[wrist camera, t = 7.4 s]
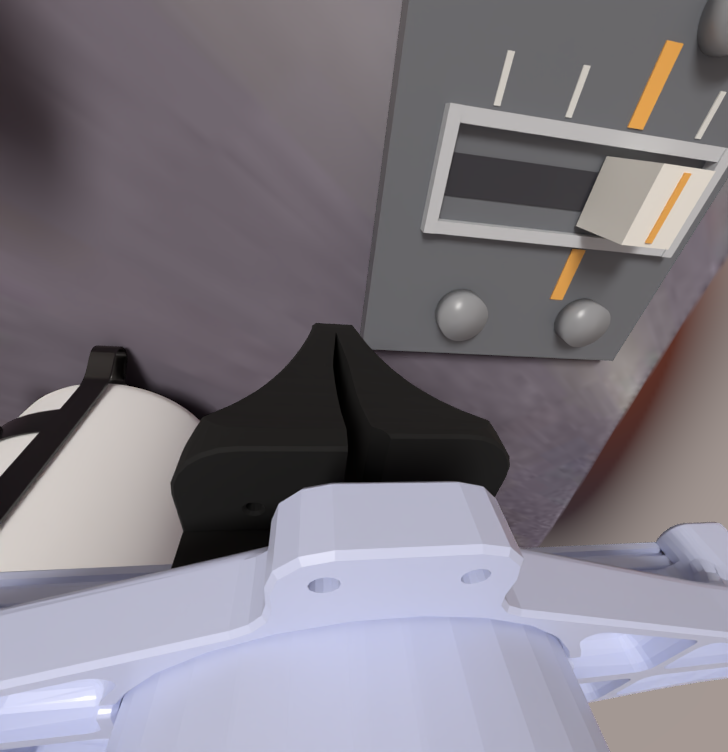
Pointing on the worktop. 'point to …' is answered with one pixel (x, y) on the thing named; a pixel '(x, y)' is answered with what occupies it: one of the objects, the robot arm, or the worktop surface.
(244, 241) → the worktop surface
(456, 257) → the console panel
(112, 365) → the coffee press
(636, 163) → the fader tab
